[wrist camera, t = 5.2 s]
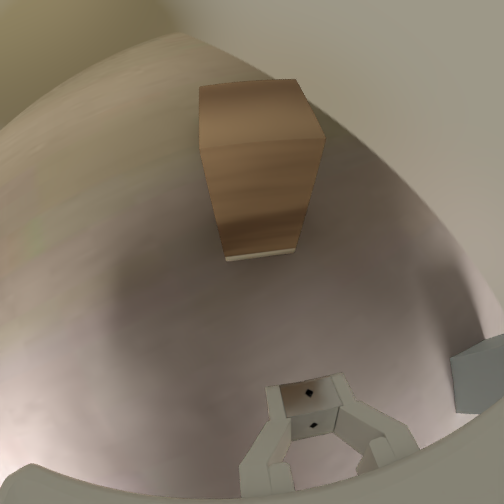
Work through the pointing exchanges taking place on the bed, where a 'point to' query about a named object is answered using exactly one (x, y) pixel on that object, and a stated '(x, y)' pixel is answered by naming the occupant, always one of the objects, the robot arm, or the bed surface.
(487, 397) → the bluegrey block
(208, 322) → the bed surface
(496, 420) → the robot arm
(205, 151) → the walnut block
